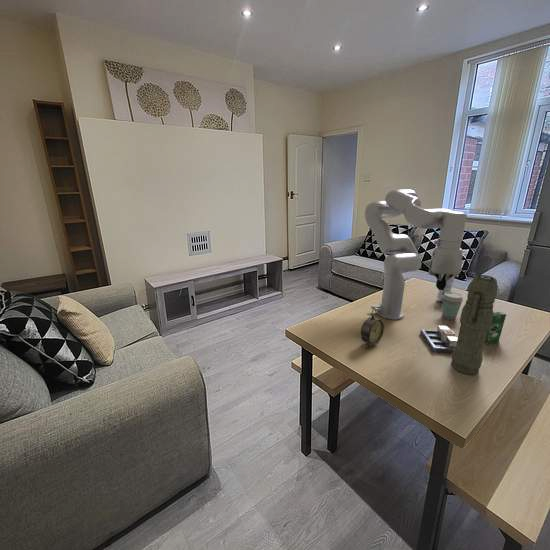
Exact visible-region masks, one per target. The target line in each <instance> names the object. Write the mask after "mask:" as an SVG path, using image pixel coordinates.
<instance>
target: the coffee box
mask: <svg viewBox="0 0 550 550" xmlns="http://www.w3.org/2000/svg"><path fill="white" fill-rule="evenodd" d="M493 313H494V315H493V319H492V323H491V327H490V329H489V330H488V332H487V335H486V339H485V343H484V345H488V344H493V343H498V342H499V341H500V340H501V339H500V338H501V335H502V331H503V327H504V325H505V320H506V317H507V314H506V313H505V312H502V311H495V312H493Z"/></svg>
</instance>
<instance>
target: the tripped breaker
mask: <svg viewBox="0 0 550 550" xmlns="http://www.w3.org/2000/svg"><path fill="white" fill-rule="evenodd" d="M447 336H449V337H456V332H454V331H453V330H452V329H450V330H444V329H443V330H442V335H441V340H442V341H445V342H446V339H447Z"/></svg>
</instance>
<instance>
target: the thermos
mask: <svg viewBox="0 0 550 550" xmlns="http://www.w3.org/2000/svg"><path fill="white" fill-rule="evenodd" d="M498 287H499V286H498V280H497V278H495V277H494V276H491V275H485V274H478V275H475V276H474V277H473V279H471V282H470V283H469V287H468V292H467V295H466V297H467V299H466V301H465V304H464V305H463V307H462V308H461V315H460V318H459V323H460V324H459V325H460V326H459V329H458V330H459V331H458V335H457V338H458V339H457V344H456V348H455V349H454V350H453V354H451V362H450V366H451V368H452V369H453V370H454V371H456V372H458V373H459V374H462V375H465V376H466V375H467V376H472V377H473V376H477V375H479V372H480V369H481V367H482V363H483V352H484V351H483V350H484V348H485V344H484V343H485V339H486V335H487V332H488V330H489V329H490V327H491V323H492V319H493V315H494V313H495V312H494V303H495V301H496V297H497V293H498Z"/></svg>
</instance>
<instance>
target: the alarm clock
mask: <svg viewBox="0 0 550 550" xmlns="http://www.w3.org/2000/svg"><path fill="white" fill-rule="evenodd" d="M371 310H372V311H371V313H370V317H367V319H365V320H364V322H363V323H362V325H361V329H360V338H361V340H362V341H363V343H366V347H365V349H366V350H367V349H368V347H369V346H370V345H371V346H375V345H377V344H379V342H380V341H381V339H382V337H383V334H384V329H385V324H384V321H383V319H380V318H378V317H377V318H376V317H375V315H376V313H377V311H376V309H371ZM373 312H374V314H373Z"/></svg>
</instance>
